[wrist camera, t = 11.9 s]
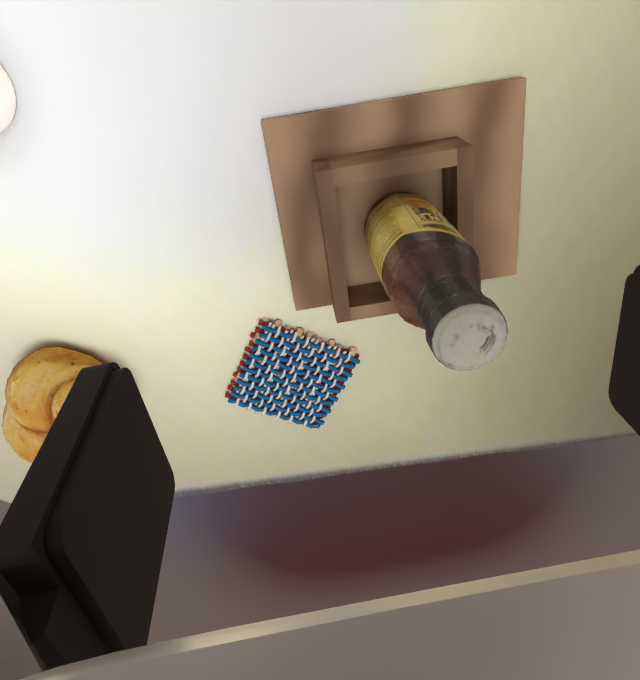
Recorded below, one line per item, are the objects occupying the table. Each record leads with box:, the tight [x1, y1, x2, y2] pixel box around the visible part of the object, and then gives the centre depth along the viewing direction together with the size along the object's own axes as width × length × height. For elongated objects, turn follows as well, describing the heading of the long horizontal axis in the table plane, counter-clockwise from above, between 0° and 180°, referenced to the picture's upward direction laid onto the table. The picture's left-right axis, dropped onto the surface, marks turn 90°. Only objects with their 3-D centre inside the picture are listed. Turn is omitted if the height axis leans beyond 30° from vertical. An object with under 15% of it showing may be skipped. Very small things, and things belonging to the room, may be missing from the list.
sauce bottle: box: [364, 191, 508, 371], centre depth 36 cm, size 6×6×20 cm
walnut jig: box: [261, 77, 526, 323], centre depth 43 cm, size 20×16×5 cm
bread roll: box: [2, 347, 102, 463], centre depth 48 cm, size 13×10×8 cm
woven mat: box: [225, 317, 360, 428], centre depth 52 cm, size 10×11×2 cm
